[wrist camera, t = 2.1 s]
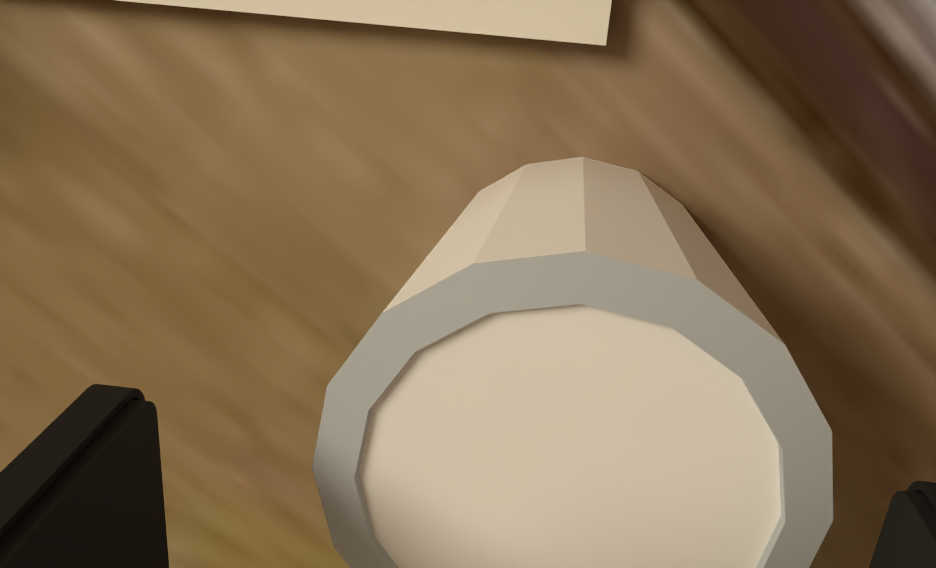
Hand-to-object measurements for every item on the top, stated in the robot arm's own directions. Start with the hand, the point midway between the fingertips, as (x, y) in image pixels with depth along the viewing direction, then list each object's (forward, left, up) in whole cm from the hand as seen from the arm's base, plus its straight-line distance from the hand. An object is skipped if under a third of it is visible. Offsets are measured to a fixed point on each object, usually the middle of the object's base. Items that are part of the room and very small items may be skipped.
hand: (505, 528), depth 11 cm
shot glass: (-1, 0, -8) cm, 8 cm away
